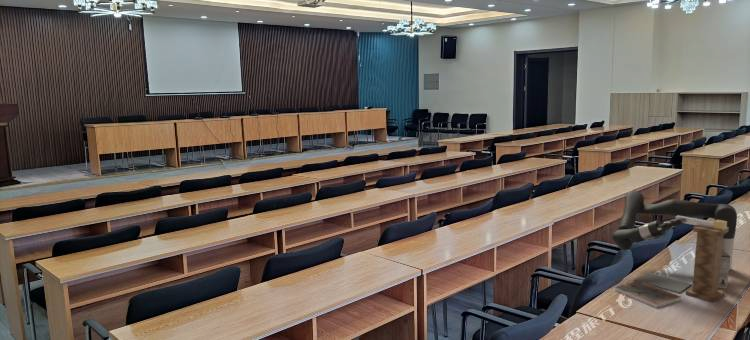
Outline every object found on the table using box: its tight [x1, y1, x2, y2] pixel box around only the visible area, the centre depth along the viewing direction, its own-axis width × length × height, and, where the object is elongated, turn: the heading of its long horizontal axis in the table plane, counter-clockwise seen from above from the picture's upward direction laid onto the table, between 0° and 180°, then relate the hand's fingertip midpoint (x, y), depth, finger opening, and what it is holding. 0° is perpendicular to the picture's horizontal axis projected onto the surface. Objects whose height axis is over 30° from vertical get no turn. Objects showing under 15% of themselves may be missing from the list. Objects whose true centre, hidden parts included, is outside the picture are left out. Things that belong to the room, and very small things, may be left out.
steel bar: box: [674, 215, 727, 231], centre depth 244 cm, size 20×4×4 cm, turn 41°
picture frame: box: [614, 281, 682, 309], centre depth 248 cm, size 16×2×22 cm
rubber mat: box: [633, 272, 693, 294], centre depth 261 cm, size 21×14×1 cm, turn 41°
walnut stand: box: [685, 225, 729, 303], centre depth 244 cm, size 12×12×32 cm
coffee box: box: [718, 250, 730, 289], centre depth 256 cm, size 9×6×16 cm
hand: (684, 219), depth 249 cm, fingers open, 8 cm apart
